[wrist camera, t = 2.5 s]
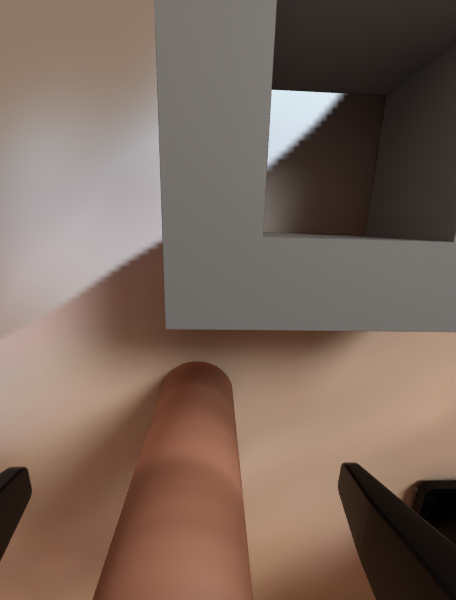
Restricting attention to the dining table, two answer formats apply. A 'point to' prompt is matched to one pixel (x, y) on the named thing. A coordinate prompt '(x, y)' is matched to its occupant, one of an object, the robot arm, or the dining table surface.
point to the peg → (184, 500)
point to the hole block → (254, 152)
